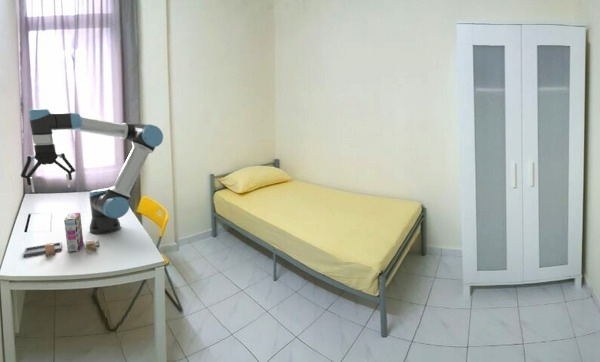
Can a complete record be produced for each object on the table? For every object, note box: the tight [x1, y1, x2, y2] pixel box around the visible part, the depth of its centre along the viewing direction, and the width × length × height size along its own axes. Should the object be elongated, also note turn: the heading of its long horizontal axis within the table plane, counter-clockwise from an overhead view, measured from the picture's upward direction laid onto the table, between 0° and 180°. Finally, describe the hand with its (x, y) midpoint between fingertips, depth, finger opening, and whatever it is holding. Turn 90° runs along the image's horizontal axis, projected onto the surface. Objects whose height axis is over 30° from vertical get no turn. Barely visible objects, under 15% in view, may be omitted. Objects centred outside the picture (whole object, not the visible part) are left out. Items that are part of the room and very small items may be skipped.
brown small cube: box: [44, 242, 57, 257], centre depth 157 cm, size 4×4×5 cm
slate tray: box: [23, 242, 63, 258], centre depth 162 cm, size 14×8×2 cm, turn 123°
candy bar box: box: [63, 212, 84, 253], centre depth 164 cm, size 11×5×16 cm, turn 23°
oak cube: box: [85, 240, 97, 253], centre depth 163 cm, size 4×4×4 cm
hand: (51, 189), depth 158 cm, fingers open, 13 cm apart
